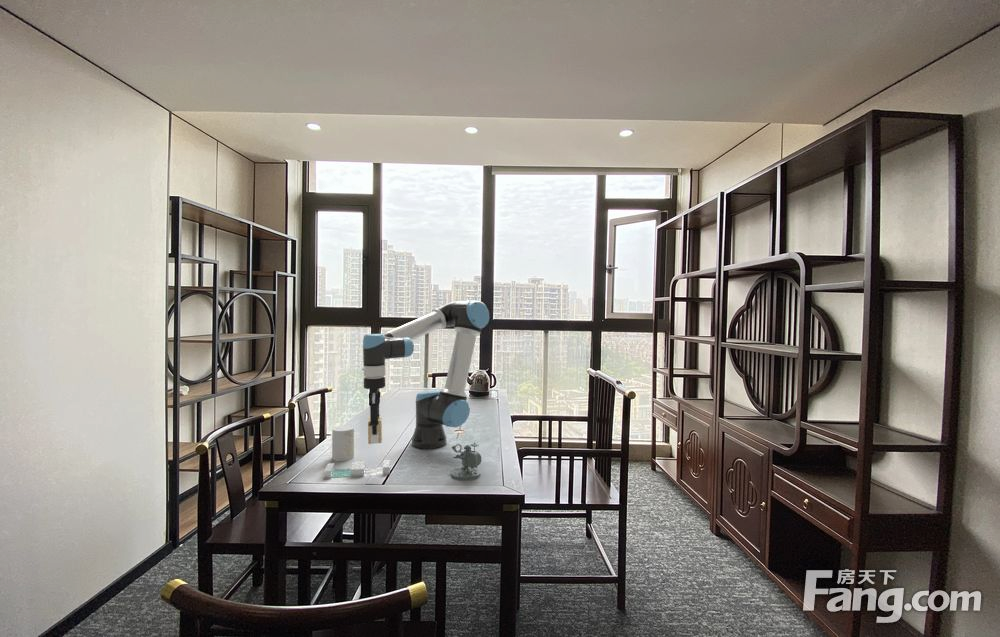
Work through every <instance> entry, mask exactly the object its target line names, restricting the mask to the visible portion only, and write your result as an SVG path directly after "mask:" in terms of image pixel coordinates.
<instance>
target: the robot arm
mask: <svg viewBox="0 0 1000 637" xmlns="http://www.w3.org/2000/svg"><path fill="white" fill-rule="evenodd" d="M489 321H490V311H489V309H488V307H487V305H486V304H485V303H484V302H482V301H480V300H474V299H471V300H453V301H449V302H447V303H444V304H442V305H441V306H439V307H436V308H434V309H432V310H431V312H430V313H428V314H425V315H424V316H421V317H419V318H417V319H414V320H412V321H410V322H407V323H404V324H403V325H401V326H398V327H396V328H394V329H391V330H389V331H386V332H384V333H368V334H365V335H364V336H363V338H362V339H363V340H362V359H363V361H362V362H363V367H362V368H361V371H363V388H364V389H366V390H370V392H369V393H368V401H369V404H368V405H369V408H370V409H369V411H370V412H369V413H370V415H369V416H370V417H369V418H370V424H369V426H371V443H374V444H380V443H379V424H378V418H380V416H381V415H380V403H381V391H379V389H384V388H385V387H386V377H385V376H386V363H385V362H386V360H389V359H401V358H403V359H405V358H407V357H411V356H412V354H414V351H415V345H414V341H415V340H417V339H418V338H421V337H423V336H425V335H428V334H430V333H433V332H434V331H436V330H438V329H439V330H443V329H446V328H449V327H450V328H451V327H453V328H454V330H455V332H456V334H455V339H454V342H453V343H454V344H453V347H452V348H453V349H452V353H451V357H450V363H449V366H448V369H447V370H448V371H447V375H446V380H445V384H444V388H442V389H441V390H440V389H439V390H426V391H420V392H418V393H417V394H416V397H415V429H414V432H413V435H412V437H411V446H413V447H414V448H418V449H425V450H426V449H429V450H430V449H436V448H437V449H438V448H441V447H444V446H445V445H447V435H446V433H445V429H444V426H445V427H447V428H448V427H449V428H459V427H462V425H464V424H465V423H466V422H467V420H468V419H469V417H470V412H471V407H470V404H469V402H467V399H468V396H467V394H466V386H467V382H468V377H469V372H470V368H471V367H470V366H471V362H472V357H473V353H474V349H475V343H476V340H477V337H478V336H480V335H481V332H482V329H483V328H485V327H486V326H487V325H488V324H489Z"/></svg>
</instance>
